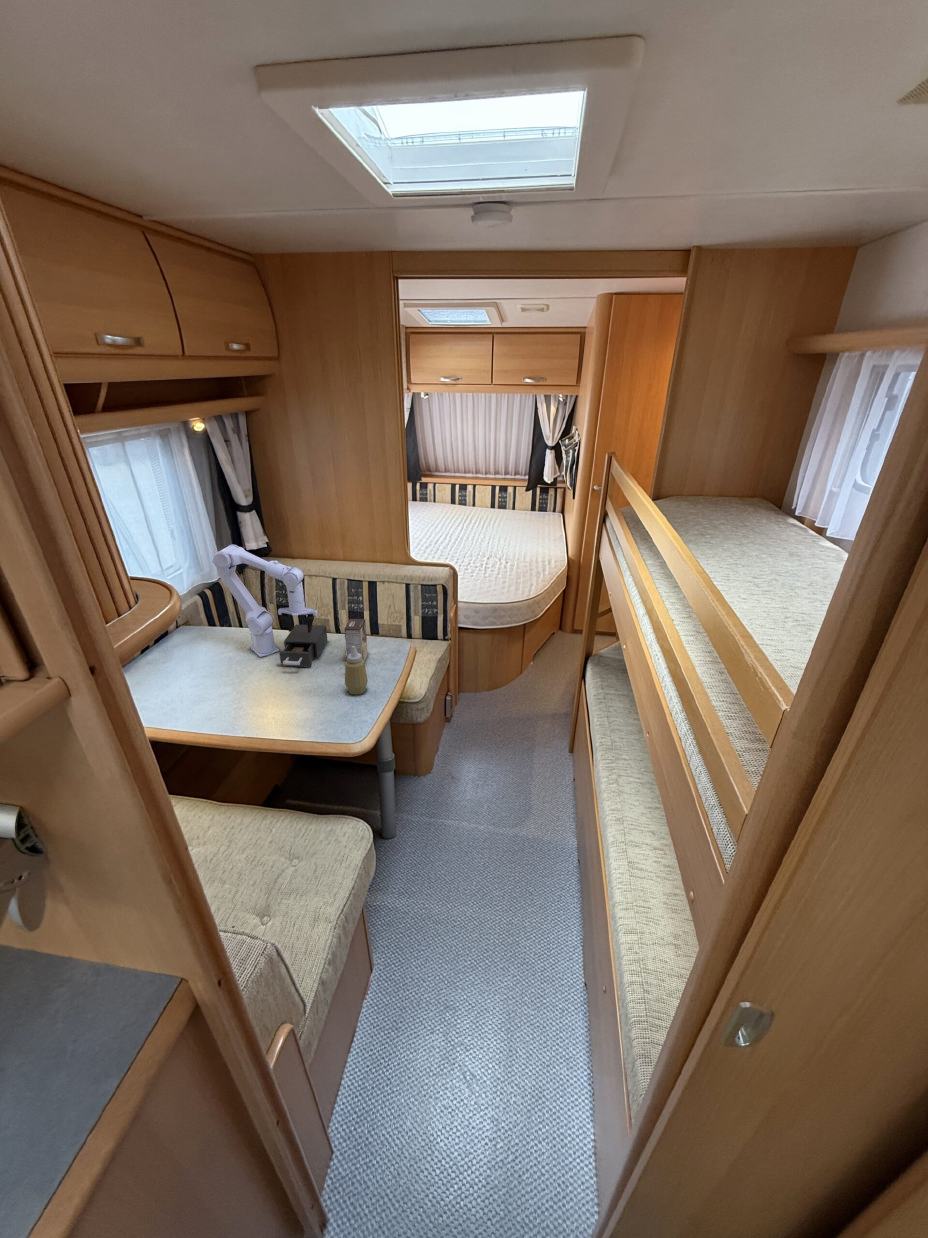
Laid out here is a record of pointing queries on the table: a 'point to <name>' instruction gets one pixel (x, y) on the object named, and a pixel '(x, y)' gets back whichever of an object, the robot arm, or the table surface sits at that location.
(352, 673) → the squeeze bottle
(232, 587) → the robot arm
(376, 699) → the table surface
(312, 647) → the drawer
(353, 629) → the coffee box
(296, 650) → the block
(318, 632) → the dark grey drawer box
